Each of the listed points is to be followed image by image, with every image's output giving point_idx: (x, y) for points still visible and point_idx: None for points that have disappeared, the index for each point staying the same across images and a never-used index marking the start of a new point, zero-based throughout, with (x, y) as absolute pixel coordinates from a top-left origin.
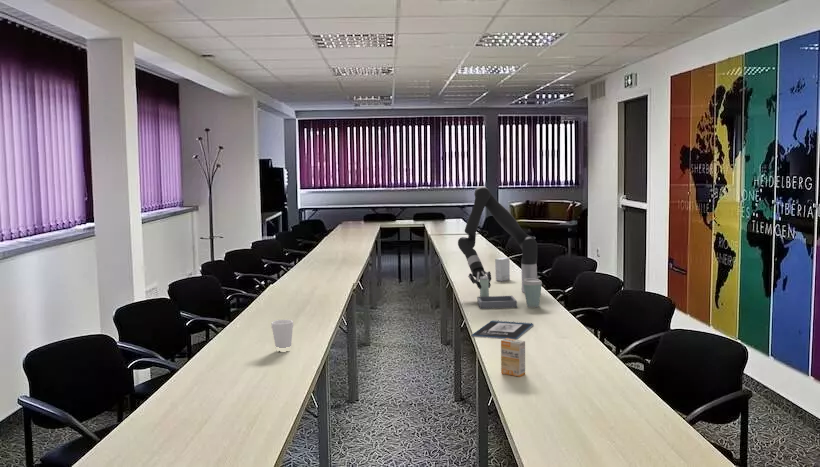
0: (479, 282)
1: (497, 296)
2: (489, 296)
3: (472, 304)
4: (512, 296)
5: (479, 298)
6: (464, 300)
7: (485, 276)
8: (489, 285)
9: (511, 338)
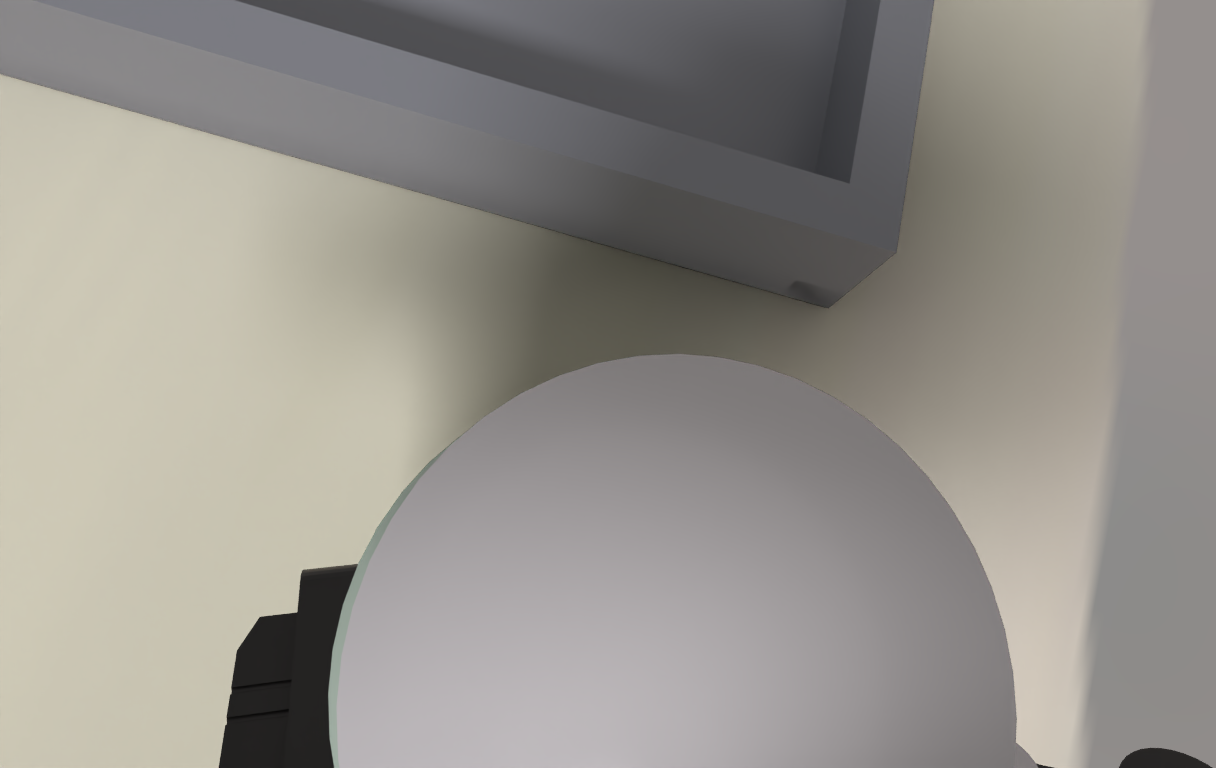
0: None
1: (352, 38)
2: (567, 137)
3: (969, 196)
4: None
5: (897, 25)
6: (1050, 731)
7: (542, 728)
8: (342, 570)
9: None
